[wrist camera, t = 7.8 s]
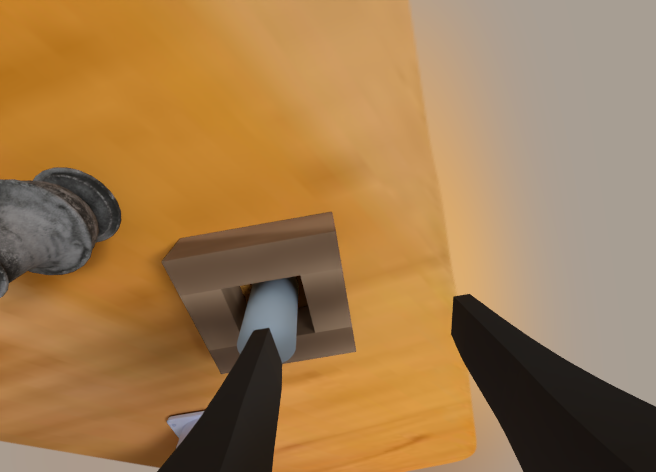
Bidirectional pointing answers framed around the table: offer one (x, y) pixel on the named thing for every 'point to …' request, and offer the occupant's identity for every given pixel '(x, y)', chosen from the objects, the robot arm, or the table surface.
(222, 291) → the socket block
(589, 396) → the robot arm
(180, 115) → the table surface
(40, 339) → the table surface
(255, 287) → the peg
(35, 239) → the dark grey chess piece
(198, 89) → the table surface
